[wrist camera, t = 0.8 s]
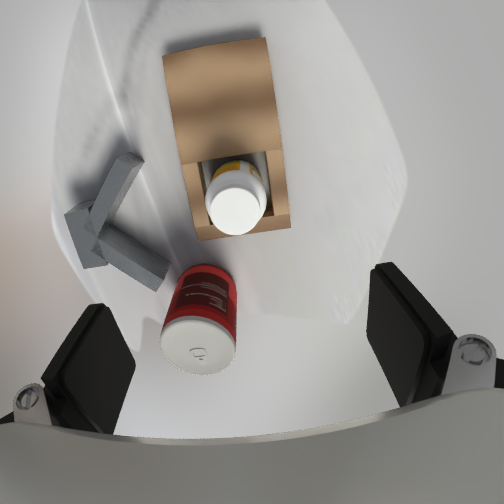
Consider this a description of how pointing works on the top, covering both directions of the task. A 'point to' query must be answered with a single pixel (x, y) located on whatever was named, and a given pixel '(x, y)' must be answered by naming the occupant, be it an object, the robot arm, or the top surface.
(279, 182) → the wooden board with cutout
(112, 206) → the v block
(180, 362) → the canned food
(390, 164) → the top surface
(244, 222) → the supplement bottle
